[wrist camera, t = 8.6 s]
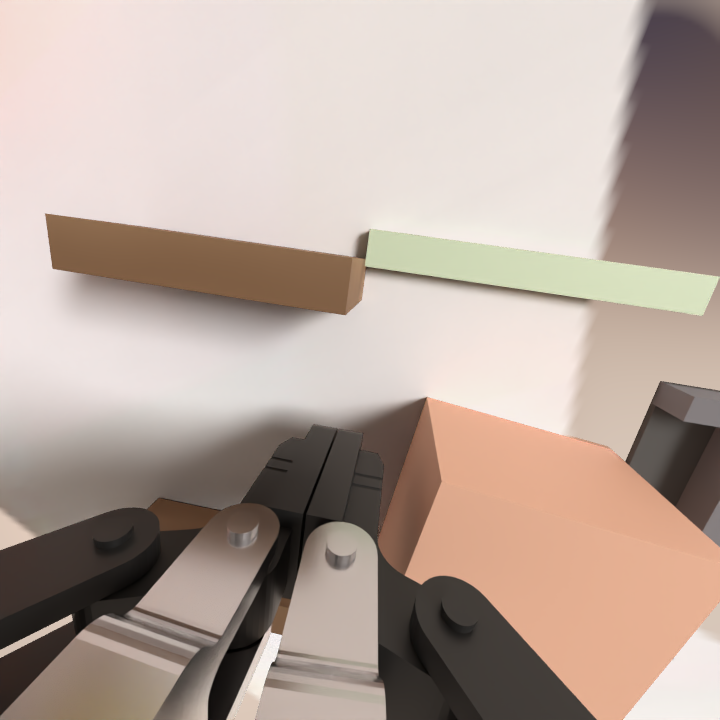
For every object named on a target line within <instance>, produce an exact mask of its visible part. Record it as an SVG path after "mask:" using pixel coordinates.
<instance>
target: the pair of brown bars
mask: <svg viewBox="0 0 720 720" xmlns="http://www.w3.org/2000/svg"><path fill="white" fill-rule="evenodd" d="M45 215H46V223H47V230H48V238H49V245H50V252H51V260H52V267H53V269H57V270H64V271H70V272H76V273H83V274H89V275H95V276H102V277H108V278H114V279H121V280H127V281H133V282H139V283H146V284H152V285H158V286H165V287H171V288H177V289H184V290H190V291H196V292H203V293H209V294H215V295H221V296H228V297H234V298H240V299H247V300H253V301H259V302H266V303H272V304H278V305H284V306H291V307H297V308H303V309H310V310H316V311H322V312H329V313H335V314H341V315H346V314H347V313H348V312H349V311H350V310H351V309H352V308H354V307H355V306H356V305H357V304H358V303H359V302H360V301H361V300H362V293H363V286H364V279H365V272H366V266H365V261H366V259H363V258H356V257H349V256H342V255H335V254H328V253H322V252H315V251H308V250H301V249H294V248H287V247H280V246H273V245H266V244H259V243H252V242H245V241H238V240H232V239H225V238H218V237H211V236H204V235H197V234H190V233H183V232H176V231H169V230H162V229H155V228H148V227H141V226H134V225H126V224H119V223H111V222H104V221H96V220H89V219H81V218H74V217H66V216H59V215H52V214H45ZM147 510H149V511H151V512H153V513H154V514H155V515H156V516H157V517H158V519H159V523H160V531H170V530H186V529H197V528H202V527H204V526H205V525H206V524H207V523H208V522H209V521H210V519H211V518H212V517H213V516H214V515H216V514H217V513H218V512H220V511H218V510H213V509H209V508H204V507H199V506H194V505H190V504H185V503H180V502H176V501H171V500H166V499H161V498H158V499H157V500H156V501H155V502H154V503H153V504H152V505H151V506H150V507H149V508H148V509H147ZM290 602H291V599H286V598H281V601H280V604H279V607H278V609H277V612H276V615H275V618H274V620H273V622H272V628H271V632H272V633H276V634H280V635H282V634H283V630H284V626H285V622H286V618H287V614H288V610H289V606H290Z"/></svg>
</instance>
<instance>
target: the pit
mask: <svg viewBox="0 0 720 720" xmlns="http://www.w3.org/2000/svg"><path fill="white" fill-rule="evenodd" d="M625 462H626V463H627V464H628V465H629V466H630V467H631V468H632V469H634V470H635V471H636V472H637V473H638V474H639V475H640V476H641V477H642V478H644V479H645V480H646V481H647V482H648V483H649V484H650V485H651V486H652V487H653V488H655V489H656V490H657V491H658V492H659V493H660V494H661V495H662V496H663V497H665V498H666V499H667V500H668V501H669V502H670V503H671V504H672V505H673V506H674V507H676V508H677V509H678V510H679V511H680V512H681V513H682V514H683V515H684V516H686V517H687V518H688V519H689V520H690V521H691V522H692V523H693V524H694V525H696V526H697V527H698V528H699V529H700V530H701V531H702V532H703V533H704V534H705V535H707V536H708V537H709V538H710V539H711V540H712V541H713V542H714V543H715V544H717V545H718V546H719V547H720V391H718V390H712V389H706V388H700V387H693V386H687V385H681V384H675V383H669V382H662V381H660V383H659V386H658V388H657V390H656V392H655V395H654V397H653V399H652V402H651V404H650V406H649V409H648V411H647V413H646V416H645V418H644V420H643V423H642V425H641V427H640V429H639V431H638V434H637V436H636V438H635V441H634V443H633V445H632V448H631V450H630V452H629V454H628V457H627V459H626V461H625Z"/></svg>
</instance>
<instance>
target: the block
mask: <svg viewBox="0 0 720 720" xmlns="http://www.w3.org/2000/svg"><path fill="white" fill-rule="evenodd" d="M378 546H379V548H380V551H381V553H382V555H383V557H384V558H385V559H386V561H387V562H388V563H389V564H390V565H391V566H392V567H393V568H394V569H396V570H397V571H398V572H400V573H401V574H403V575H405V576H406V577H408V578H410V579H412V580H414V581H416V582H417V583H419V584H421V585H422V584H423V583H424V582H425V581H426V580H428V579H430V578H432V577H435V576H451V577H455V578H458V579H461V580H463V581H465V582H467V583H469V584H470V585H472V586H474V587H475V588H476V589H477V590H479V591H480V592H481V593H482V594H483V595H484V596H485V597H486V598H487V599H488V600H489V601H490V603H491V604H492V605H493V606H494V607H495V608H496V609H497V610H498V611H499V612H500V614H501V615H502V616H503V617H504V618H505V619H506V620H507V621H508V622H509V624H510V625H511V626H512V627H513V628H514V629H515V630H516V631H517V632H518V633H519V635H520V636H521V637H522V638H523V639H524V640H525V641H526V642H527V643H528V644H529V646H530V647H531V648H532V649H533V650H534V651H535V652H536V653H537V654H538V655H539V657H540V658H541V659H542V660H543V661H544V662H545V663H546V664H547V665H548V666H549V668H550V669H551V670H552V671H553V672H554V673H555V674H556V675H557V676H558V677H559V679H560V680H561V681H562V682H563V683H564V684H565V685H566V686H567V687H568V688H569V690H570V691H571V692H572V693H573V694H574V695H575V696H576V697H577V698H578V699H579V701H580V702H581V703H582V704H583V705H584V706H585V707H586V708H587V709H588V710H589V712H590V713H591V714H592V715H593V716H594V717H595V718H596V719H597V720H623V719H624V718H625V716H626V715H627V714H628V713H629V711H630V710H631V709H632V708H633V707H634V705H635V704H636V703H637V702H638V700H639V699H640V698H641V697H642V696H643V694H644V693H645V692H646V691H647V690H648V688H649V687H650V686H651V685H652V683H653V682H654V681H655V680H656V679H657V677H658V676H659V675H660V674H661V673H662V671H663V670H664V669H665V668H666V666H667V665H668V664H669V663H670V662H671V660H672V659H673V658H674V657H675V655H676V654H677V653H678V652H679V651H680V649H681V648H682V647H683V646H684V645H685V643H686V642H687V641H688V640H689V638H690V637H691V636H692V635H693V634H694V632H695V631H696V630H697V629H698V628H699V626H700V625H701V624H702V623H703V621H704V620H705V619H706V618H707V617H708V615H709V614H710V613H711V612H712V610H713V609H714V608H715V607H716V606H717V604H718V603H719V602H720V547H719V546H718V545H717V544H715V543H714V542H713V541H712V540H711V539H710V538H709V537H708V536H707V535H705V534H704V533H703V532H702V531H701V530H700V529H699V528H698V527H697V526H696V525H694V524H693V523H692V522H691V521H690V520H689V519H688V518H687V517H686V516H684V515H683V514H682V513H681V512H680V511H679V510H678V509H677V508H676V507H674V506H673V505H672V504H671V503H670V502H669V501H668V500H667V499H666V498H665V497H663V496H662V495H661V494H660V493H659V492H658V491H657V490H656V489H655V488H653V487H652V486H651V485H650V484H649V483H648V482H647V481H646V480H645V479H644V478H642V477H641V476H640V475H639V474H638V473H637V472H636V471H635V470H634V469H632V468H631V467H630V466H629V465H628V464H627V463H626V462H625V461H624V460H623V459H621V458H620V457H619V456H618V455H617V454H616V453H615V452H614V451H613V450H611V449H610V448H609V447H608V446H605V445H601V444H598V443H594V442H591V441H587V440H583V439H580V438H576V437H573V436H569V435H567V437H566V436H563V435H559V434H555V433H552V432H548V431H545V430H541V429H538V428H534V427H531V426H527V425H524V424H520V423H517V422H513V421H510V420H506V419H503V418H499V417H496V416H492V415H488V414H485V413H481V412H478V411H474V410H471V409H467V408H464V407H460V406H457V405H453V404H450V403H446V402H443V401H439V400H436V399H432V398H429V397H427V398H426V401H425V404H424V407H423V410H422V413H421V416H420V418H419V421H418V424H417V427H416V430H415V433H414V436H413V439H412V442H411V445H410V447H409V450H408V453H407V456H406V459H405V462H404V465H403V468H402V471H401V474H400V476H399V479H398V482H397V485H396V488H395V491H394V494H393V497H392V500H391V503H390V505H389V508H388V511H387V514H386V517H385V520H384V523H383V526H382V529H381V532H380V534H379V537H378Z"/></svg>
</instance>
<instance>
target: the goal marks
mask: <svg viewBox="0 0 720 720" xmlns="http://www.w3.org/2000/svg"><path fill="white" fill-rule="evenodd" d="M365 266H366V267H373V268H380V269H387V270H393V271H400V272H407V273H414V274H421V275H428V276H434V277H441V278H448V279H455V280H462V281H469V282H475V283H482V284H489V285H496V286H503V287H510V288H516V289H523V290H530V291H537V292H544V293H551V294H558V295H564V296H571V297H578V298H585V299H592V300H599V301H605V302H612V303H619V304H626V305H633V306H640V307H646V308H653V309H660V310H668V311H674V312H681V313H687V314H695V315H701V316H703V313H704V311H705V309H706V307H707V304H708V302H709V300H710V298H711V296H712V293H713V291H714V289H715V286H716V284H717V282H718V280H719V278H720V277H717V276H710V275H702V274H696V273H688V272H681V271H673V270H666V269H659V268H652V267H644V266H637V265H630V264H622V263H615V262H608V261H601V260H594V259H586V258H579V257H572V256H564V255H557V254H550V253H542V252H535V251H528V250H521V249H513V248H506V247H499V246H491V245H484V244H477V243H470V242H462V241H455V240H448V239H440V238H433V237H426V236H419V235H411V234H404V233H397V232H389V231H382V230H375V229H370V232H369V239H368V246H367V254H366V261H365Z"/></svg>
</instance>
